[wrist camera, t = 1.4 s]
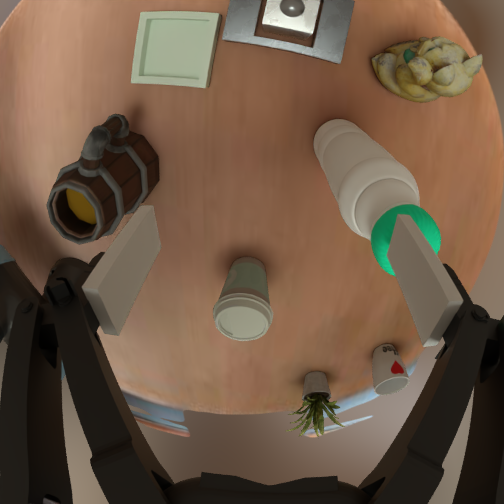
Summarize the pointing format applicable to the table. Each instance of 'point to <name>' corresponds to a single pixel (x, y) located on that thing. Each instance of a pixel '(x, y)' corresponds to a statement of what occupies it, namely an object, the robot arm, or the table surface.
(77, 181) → the mug
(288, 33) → the block
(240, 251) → the table surface
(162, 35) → the parts tray
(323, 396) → the house plant
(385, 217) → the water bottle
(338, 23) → the grey rectangular frame
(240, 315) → the coffee cup
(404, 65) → the decorative figurine
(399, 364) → the cup
